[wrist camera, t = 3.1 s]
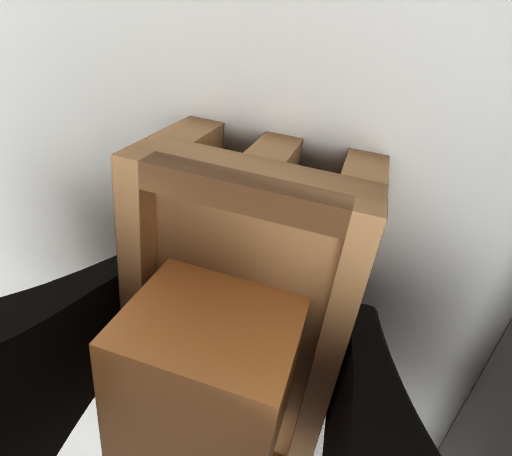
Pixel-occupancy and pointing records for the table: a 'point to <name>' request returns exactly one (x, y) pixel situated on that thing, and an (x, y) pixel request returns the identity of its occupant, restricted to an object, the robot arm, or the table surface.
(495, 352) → the dock
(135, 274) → the pallet
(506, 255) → the table surface
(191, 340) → the light brown block
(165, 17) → the table surface
